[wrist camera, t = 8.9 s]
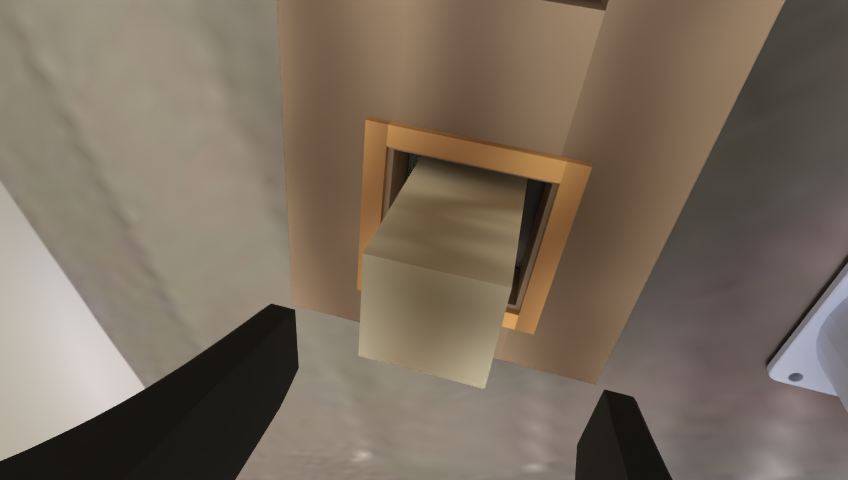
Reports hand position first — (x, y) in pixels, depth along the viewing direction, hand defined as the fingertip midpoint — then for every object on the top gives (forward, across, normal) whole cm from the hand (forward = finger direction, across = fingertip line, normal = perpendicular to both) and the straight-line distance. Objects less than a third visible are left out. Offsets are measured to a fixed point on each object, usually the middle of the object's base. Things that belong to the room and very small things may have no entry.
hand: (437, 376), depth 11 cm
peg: (+10, +1, +1) cm, 10 cm away
